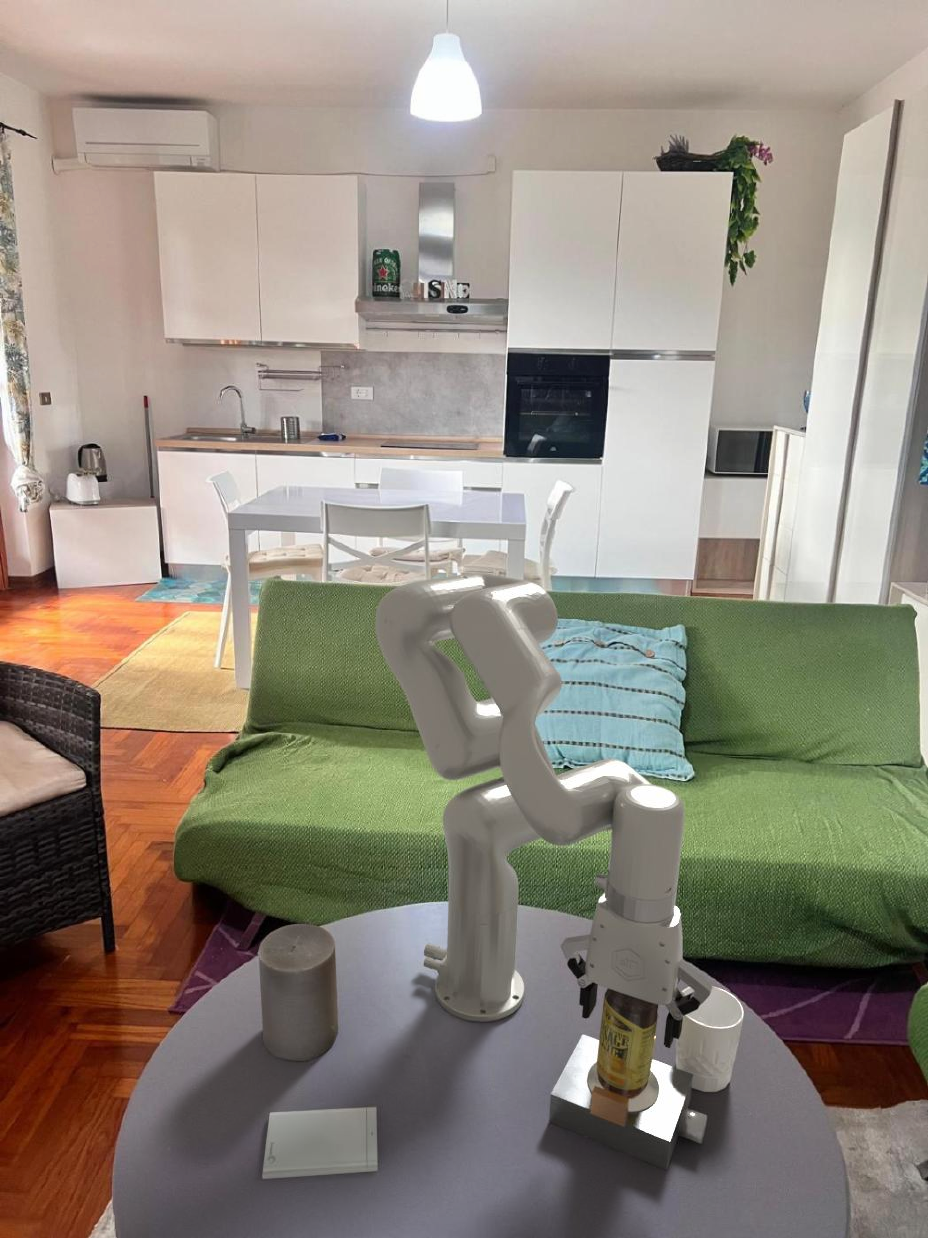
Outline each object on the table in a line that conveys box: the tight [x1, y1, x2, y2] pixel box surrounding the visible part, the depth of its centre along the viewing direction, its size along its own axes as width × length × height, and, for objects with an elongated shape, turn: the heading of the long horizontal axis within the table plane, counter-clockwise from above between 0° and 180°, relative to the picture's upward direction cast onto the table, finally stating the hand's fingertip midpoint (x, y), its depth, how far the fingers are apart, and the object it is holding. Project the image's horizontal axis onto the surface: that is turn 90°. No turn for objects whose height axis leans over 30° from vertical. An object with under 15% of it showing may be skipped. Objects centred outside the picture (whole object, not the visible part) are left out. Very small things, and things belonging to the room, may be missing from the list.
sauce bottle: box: [597, 988, 659, 1097], centre depth 104 cm, size 7×6×20 cm
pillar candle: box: [257, 923, 339, 1062], centre depth 117 cm, size 10×10×15 cm
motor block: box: [548, 1034, 708, 1171], centre depth 107 cm, size 17×12×7 cm
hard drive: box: [261, 1106, 379, 1180], centre depth 103 cm, size 2×8×12 cm
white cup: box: [675, 985, 745, 1093], centre depth 113 cm, size 8×8×10 cm
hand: (628, 1025), depth 105 cm, fingers open, 9 cm apart
